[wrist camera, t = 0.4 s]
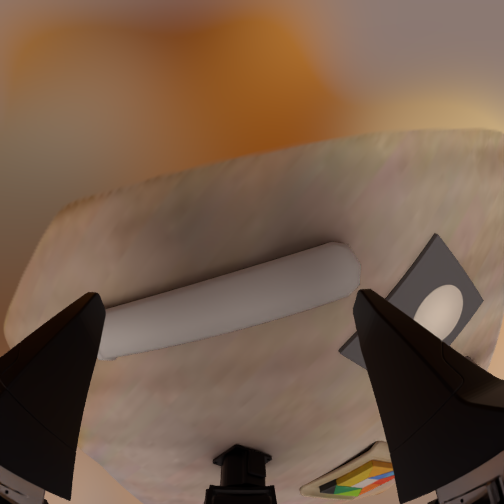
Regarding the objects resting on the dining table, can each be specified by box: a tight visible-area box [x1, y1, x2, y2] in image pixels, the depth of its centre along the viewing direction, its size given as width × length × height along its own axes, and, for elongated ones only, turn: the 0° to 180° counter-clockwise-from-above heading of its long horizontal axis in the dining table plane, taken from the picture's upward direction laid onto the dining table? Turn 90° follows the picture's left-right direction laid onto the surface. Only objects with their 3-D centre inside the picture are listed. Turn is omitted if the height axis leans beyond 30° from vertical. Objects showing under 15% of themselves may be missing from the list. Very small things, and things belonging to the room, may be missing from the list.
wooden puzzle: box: [300, 441, 395, 500], centre depth 36 cm, size 18×19×4 cm
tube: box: [97, 242, 361, 360], centre depth 23 cm, size 5×5×25 cm
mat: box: [339, 234, 484, 370], centre depth 27 cm, size 16×14×1 cm
